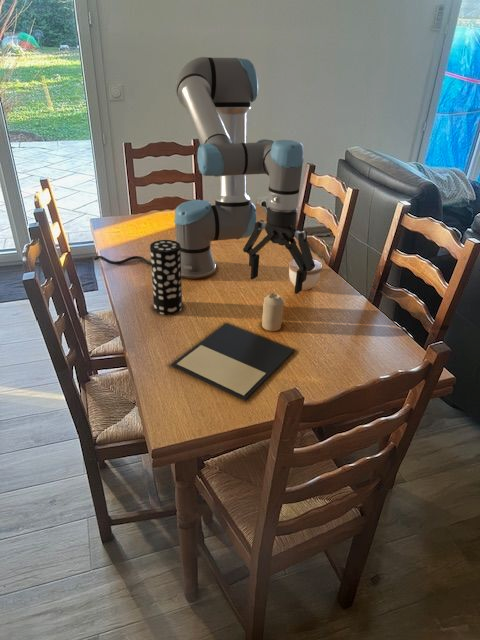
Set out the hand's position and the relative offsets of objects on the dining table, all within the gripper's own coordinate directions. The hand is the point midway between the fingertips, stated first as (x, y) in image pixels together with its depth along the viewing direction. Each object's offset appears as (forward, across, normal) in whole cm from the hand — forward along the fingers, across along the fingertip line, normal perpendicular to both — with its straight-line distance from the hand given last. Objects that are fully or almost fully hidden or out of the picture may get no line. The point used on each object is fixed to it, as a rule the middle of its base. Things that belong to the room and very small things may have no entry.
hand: (275, 284), depth 126 cm
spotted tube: (+14, -30, -10) cm, 35 cm away
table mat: (+14, 0, -19) cm, 23 cm away
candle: (+14, 0, 0) cm, 14 cm away
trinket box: (+14, -4, +28) cm, 32 cm away
